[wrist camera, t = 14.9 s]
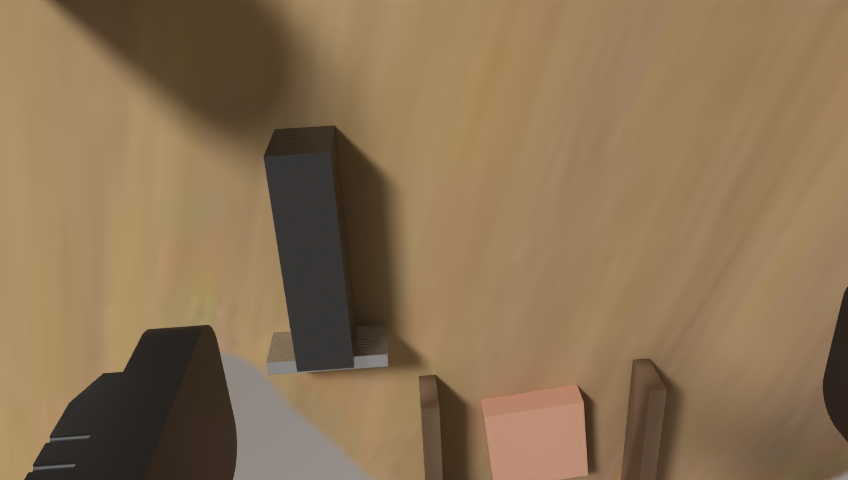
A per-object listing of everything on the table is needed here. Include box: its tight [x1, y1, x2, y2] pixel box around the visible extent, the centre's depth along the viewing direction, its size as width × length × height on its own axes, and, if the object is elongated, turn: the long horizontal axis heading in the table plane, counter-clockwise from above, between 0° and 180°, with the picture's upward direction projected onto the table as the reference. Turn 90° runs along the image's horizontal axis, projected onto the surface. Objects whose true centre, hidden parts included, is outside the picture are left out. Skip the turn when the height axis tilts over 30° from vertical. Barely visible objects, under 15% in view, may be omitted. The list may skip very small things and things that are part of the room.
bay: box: [419, 359, 667, 480], centre depth 45 cm, size 14×12×3 cm
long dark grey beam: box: [264, 126, 388, 375], centre depth 38 cm, size 6×13×4 cm, turn 3°
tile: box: [480, 385, 588, 480], centre depth 46 cm, size 6×6×2 cm
